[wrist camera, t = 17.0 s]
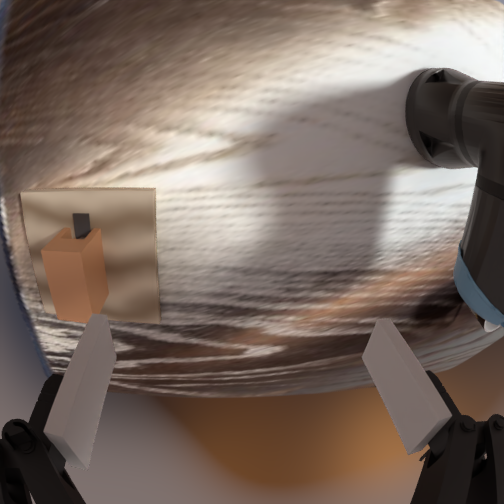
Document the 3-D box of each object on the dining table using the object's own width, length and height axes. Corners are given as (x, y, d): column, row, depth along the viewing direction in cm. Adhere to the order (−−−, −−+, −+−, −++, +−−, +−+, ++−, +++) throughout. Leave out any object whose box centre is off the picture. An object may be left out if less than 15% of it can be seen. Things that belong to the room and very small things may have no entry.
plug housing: (64, 227, 36) (40, 250, 30) (100, 228, 37) (80, 252, 30) (75, 290, 40) (58, 319, 34) (109, 293, 41) (94, 323, 35)
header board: (25, 189, 34) (8, 199, 30) (155, 188, 37) (148, 198, 33) (49, 307, 43) (38, 323, 39) (161, 317, 45) (157, 337, 41)
